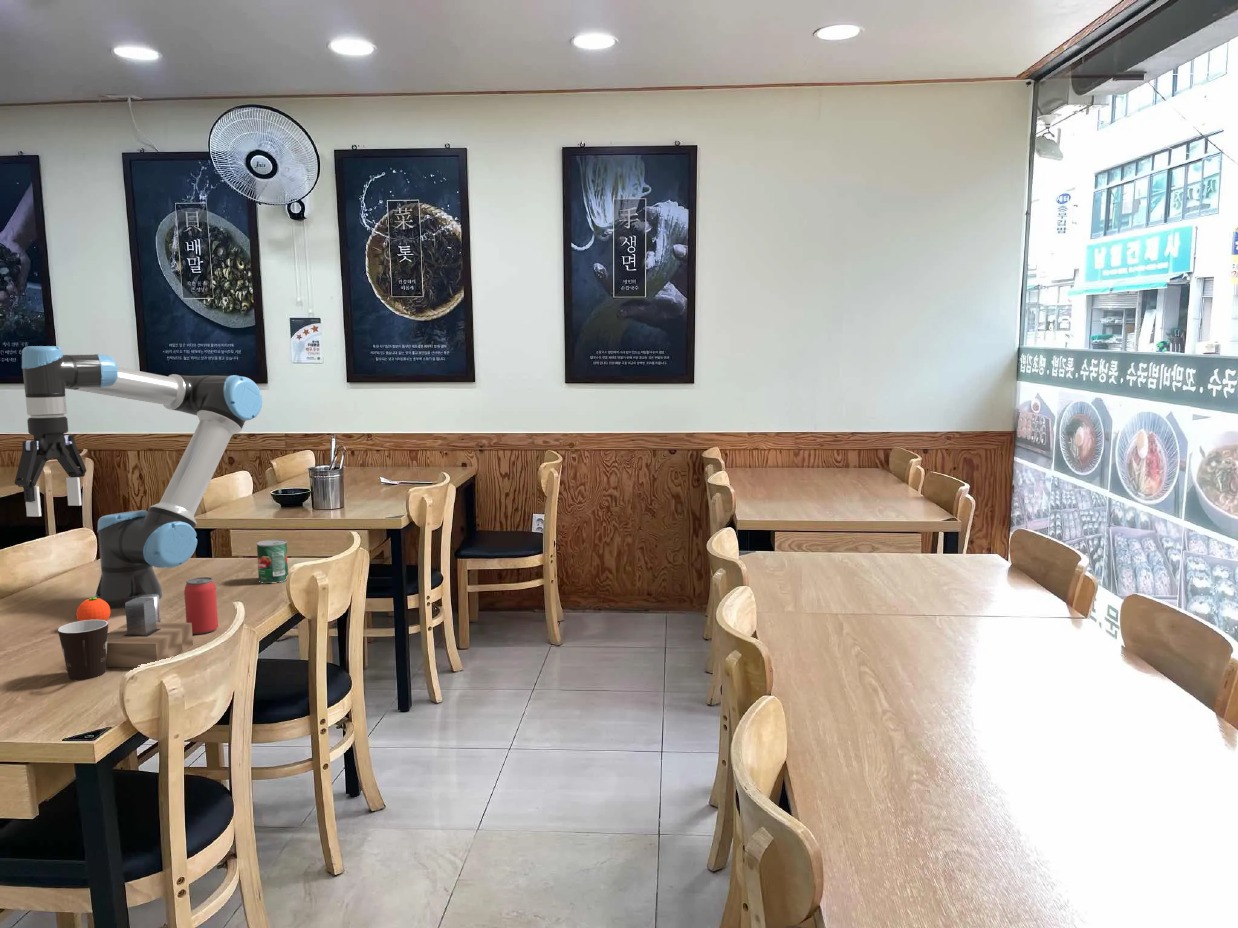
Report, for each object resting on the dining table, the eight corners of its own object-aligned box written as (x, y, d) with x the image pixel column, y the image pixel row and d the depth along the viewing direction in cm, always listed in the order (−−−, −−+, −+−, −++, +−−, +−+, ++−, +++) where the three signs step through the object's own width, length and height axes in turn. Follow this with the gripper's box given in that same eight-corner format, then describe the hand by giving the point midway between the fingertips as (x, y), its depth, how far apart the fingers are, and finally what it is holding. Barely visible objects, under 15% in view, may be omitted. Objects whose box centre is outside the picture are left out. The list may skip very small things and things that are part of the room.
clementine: (80, 623, 212) (78, 594, 211) (113, 620, 215) (111, 591, 214) (75, 633, 205) (72, 603, 204) (109, 629, 208) (107, 599, 207)
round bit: (148, 636, 202) (145, 593, 201) (165, 637, 202) (162, 594, 201) (138, 642, 198) (134, 598, 197) (155, 642, 198) (152, 599, 197)
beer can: (198, 636, 202) (194, 585, 201) (181, 631, 206) (177, 581, 204) (224, 628, 208) (221, 578, 206) (207, 624, 211) (204, 575, 210)
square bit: (140, 651, 192) (136, 597, 191) (158, 652, 192) (154, 597, 190) (129, 658, 188) (125, 602, 187) (147, 658, 188) (143, 603, 186)
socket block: (131, 643, 197) (129, 622, 197) (193, 644, 197) (191, 622, 196) (91, 666, 183) (89, 642, 183) (157, 667, 183) (155, 643, 182)
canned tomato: (252, 582, 249) (250, 544, 247) (271, 576, 256) (269, 538, 255) (276, 584, 246) (274, 545, 245) (294, 578, 254) (292, 540, 253)
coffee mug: (75, 667, 183) (71, 620, 181) (119, 666, 183) (116, 619, 182) (44, 688, 171) (40, 638, 170) (91, 687, 172) (87, 637, 171)
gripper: (67, 412, 210) (75, 501, 213) (-12, 420, 185) (-2, 521, 188) (98, 412, 210) (105, 501, 213) (23, 420, 185) (32, 521, 188)
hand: (55, 510), depth 200 cm, fingers open, 13 cm apart
